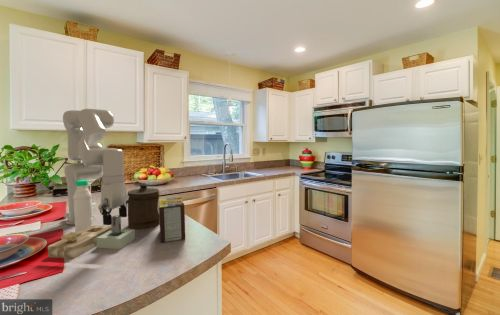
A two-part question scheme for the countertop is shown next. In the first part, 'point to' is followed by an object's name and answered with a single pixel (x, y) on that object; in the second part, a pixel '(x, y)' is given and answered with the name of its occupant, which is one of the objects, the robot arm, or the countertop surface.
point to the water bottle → (82, 206)
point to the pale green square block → (115, 239)
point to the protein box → (171, 219)
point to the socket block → (77, 243)
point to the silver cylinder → (116, 225)
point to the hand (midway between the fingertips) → (115, 220)
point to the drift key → (71, 237)
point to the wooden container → (143, 208)
